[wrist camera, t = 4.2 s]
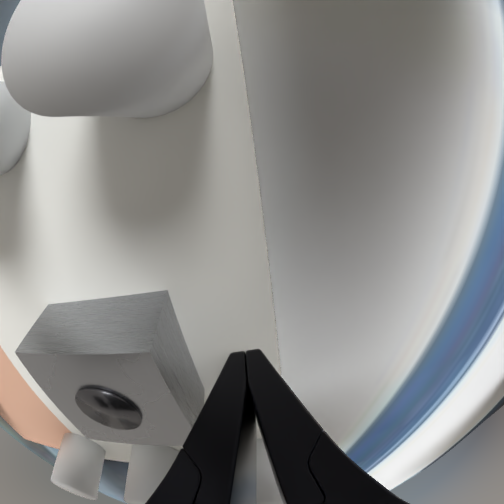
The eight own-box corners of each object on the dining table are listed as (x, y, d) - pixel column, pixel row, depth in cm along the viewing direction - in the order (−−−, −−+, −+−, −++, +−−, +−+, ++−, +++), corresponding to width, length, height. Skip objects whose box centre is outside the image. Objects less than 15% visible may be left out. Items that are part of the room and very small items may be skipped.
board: (228, -6, 5) (234, -111, 1) (286, 443, 14) (298, 508, 10) (-103, 189, 5) (-148, 217, 1) (25, 429, 13) (10, 470, 9)
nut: (167, 289, 7) (148, 355, 5) (204, 389, 9) (203, 448, 7) (48, 304, 7) (13, 354, 5) (101, 391, 9) (86, 440, 7)
